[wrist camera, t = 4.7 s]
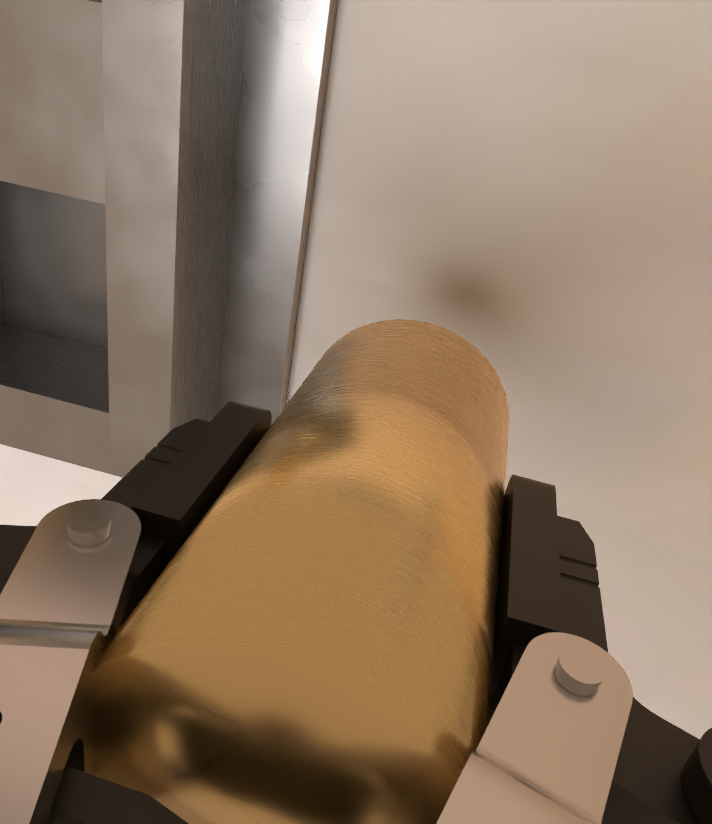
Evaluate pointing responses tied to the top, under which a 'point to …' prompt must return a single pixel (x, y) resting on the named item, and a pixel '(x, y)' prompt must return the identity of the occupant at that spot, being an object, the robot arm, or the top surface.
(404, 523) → the gold and grey cylinder
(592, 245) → the top surface
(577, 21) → the top surface
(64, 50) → the jig
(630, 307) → the top surface
